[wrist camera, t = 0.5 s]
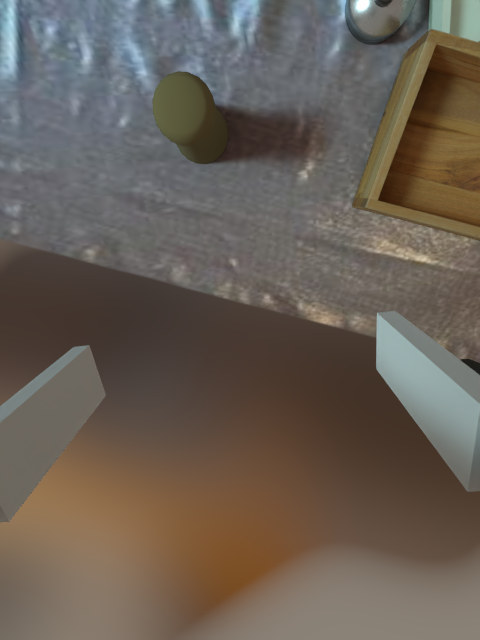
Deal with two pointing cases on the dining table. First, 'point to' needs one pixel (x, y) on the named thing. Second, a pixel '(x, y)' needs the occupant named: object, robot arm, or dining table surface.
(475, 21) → the tray
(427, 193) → the tray
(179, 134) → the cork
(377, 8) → the silver pot lid
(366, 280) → the dining table surface
